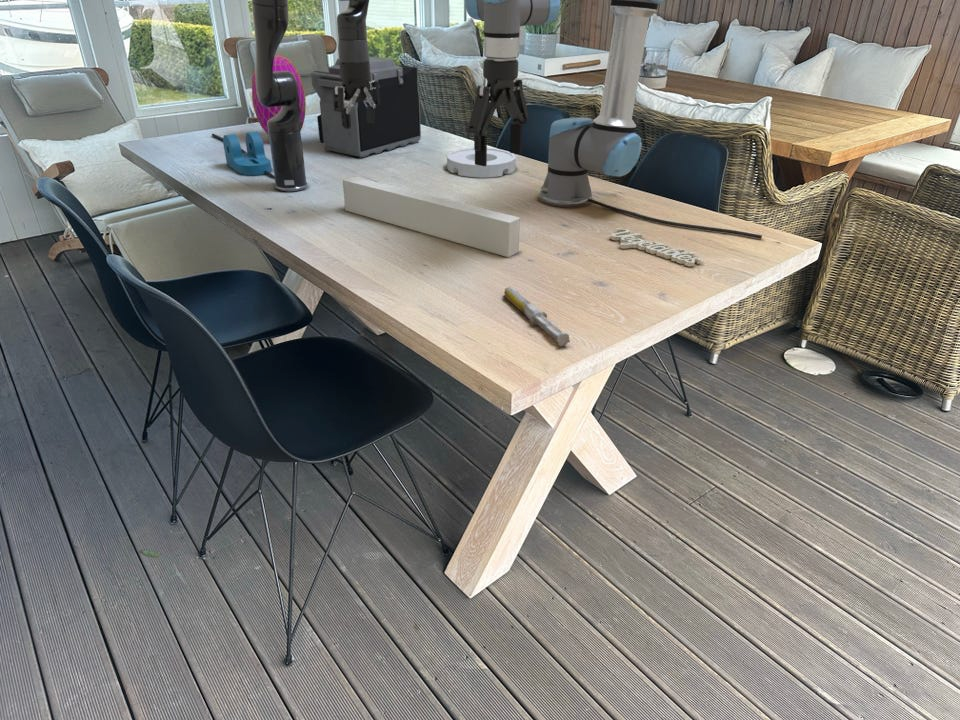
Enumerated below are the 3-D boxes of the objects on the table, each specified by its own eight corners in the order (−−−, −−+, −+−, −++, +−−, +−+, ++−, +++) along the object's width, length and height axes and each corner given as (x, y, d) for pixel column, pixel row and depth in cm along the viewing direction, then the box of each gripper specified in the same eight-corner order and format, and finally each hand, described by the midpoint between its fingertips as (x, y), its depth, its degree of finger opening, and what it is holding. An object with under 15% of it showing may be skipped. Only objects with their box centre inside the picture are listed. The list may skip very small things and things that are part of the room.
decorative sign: (596, 235, 174) (621, 227, 180) (596, 239, 175) (620, 230, 181) (684, 266, 157) (708, 256, 163) (684, 270, 158) (708, 260, 164)
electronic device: (383, 133, 276) (378, 52, 261) (425, 141, 265) (422, 56, 250) (314, 150, 251) (304, 61, 235) (358, 160, 240) (350, 67, 224)
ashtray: (449, 158, 243) (449, 147, 241) (514, 159, 242) (515, 148, 240) (444, 176, 223) (444, 164, 221) (515, 178, 222) (516, 165, 220)
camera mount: (227, 164, 233) (221, 132, 227) (257, 160, 238) (252, 129, 233) (244, 176, 220) (239, 143, 215) (276, 172, 225) (271, 139, 220)
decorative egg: (293, 132, 276) (283, 50, 261) (319, 140, 264) (310, 56, 249) (249, 139, 265) (236, 54, 250) (273, 148, 253) (261, 60, 238)
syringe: (499, 294, 146) (500, 282, 144) (516, 291, 147) (516, 279, 146) (552, 349, 126) (553, 336, 125) (570, 345, 127) (571, 332, 126)
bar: (518, 252, 167) (520, 217, 163) (508, 257, 164) (509, 222, 160) (356, 206, 196) (354, 176, 192) (345, 210, 193) (342, 179, 189)
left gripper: (364, 54, 178) (368, 119, 186) (322, 60, 168) (328, 128, 177) (385, 57, 174) (388, 123, 183) (343, 63, 164) (349, 132, 173)
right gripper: (519, 51, 157) (515, 146, 168) (450, 62, 140) (451, 167, 150) (547, 54, 153) (541, 151, 164) (479, 66, 136) (478, 173, 147)
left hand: (359, 125), depth 180 cm, fingers open, 8 cm apart
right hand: (498, 159), depth 157 cm, fingers open, 13 cm apart
